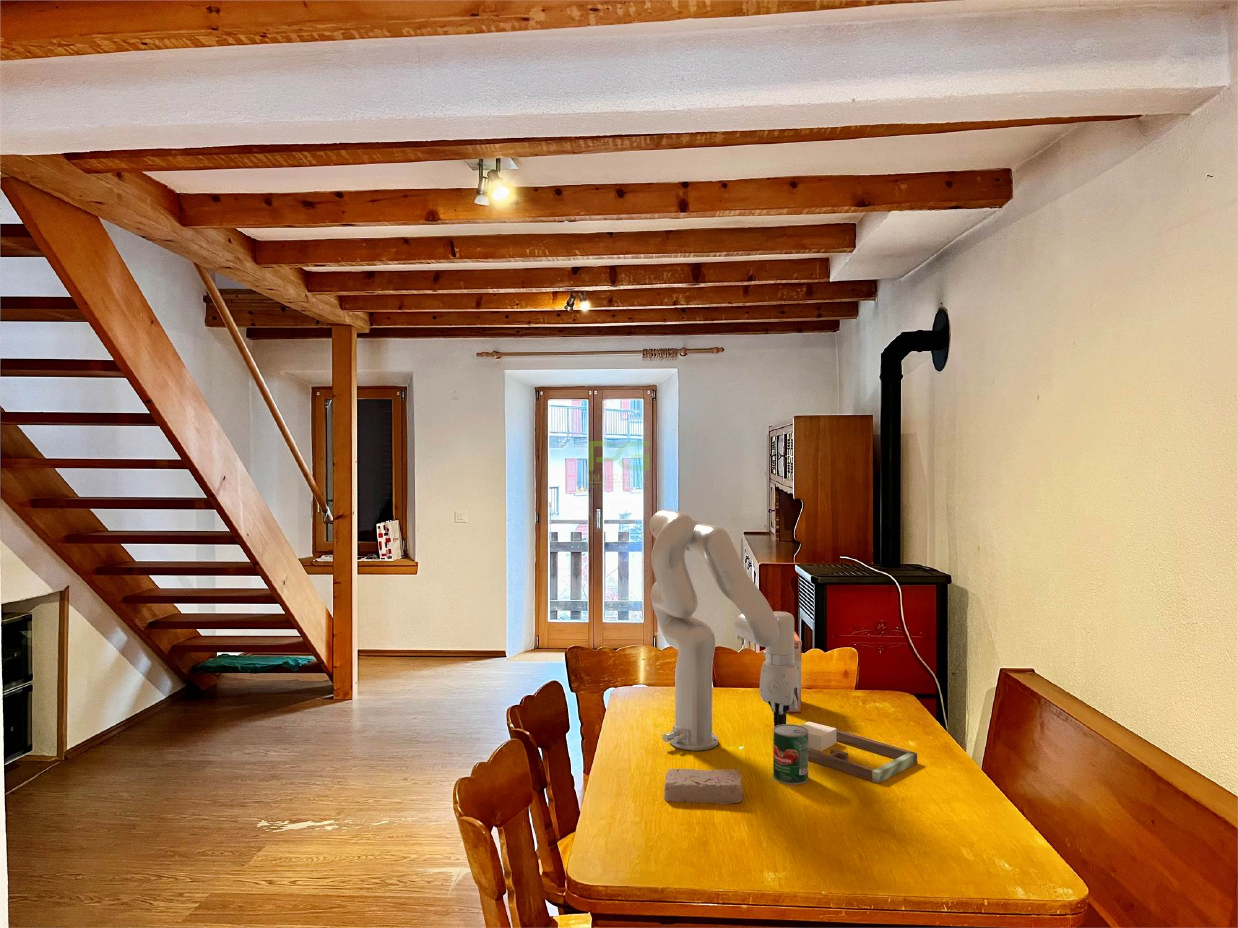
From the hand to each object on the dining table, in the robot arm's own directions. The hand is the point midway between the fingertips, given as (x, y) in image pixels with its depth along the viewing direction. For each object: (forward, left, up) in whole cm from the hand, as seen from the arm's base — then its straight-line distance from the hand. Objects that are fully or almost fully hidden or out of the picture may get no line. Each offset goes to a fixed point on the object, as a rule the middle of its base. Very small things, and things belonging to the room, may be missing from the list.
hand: (780, 726), depth 204 cm
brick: (-45, -13, -2) cm, 47 cm away
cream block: (0, -11, -2) cm, 11 cm away
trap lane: (-2, -21, -1) cm, 21 cm away
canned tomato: (-23, -20, -2) cm, 30 cm away
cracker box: (+21, +12, -2) cm, 24 cm away
